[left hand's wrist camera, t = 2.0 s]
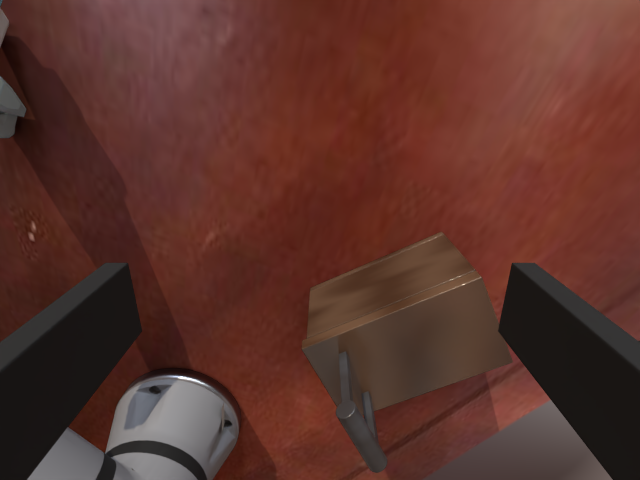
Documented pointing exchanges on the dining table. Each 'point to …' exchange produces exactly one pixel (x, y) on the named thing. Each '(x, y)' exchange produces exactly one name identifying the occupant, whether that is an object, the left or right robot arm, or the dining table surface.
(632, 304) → the dining table surface
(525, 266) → the left robot arm
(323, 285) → the chest
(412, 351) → the lid
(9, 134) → the toy gun
